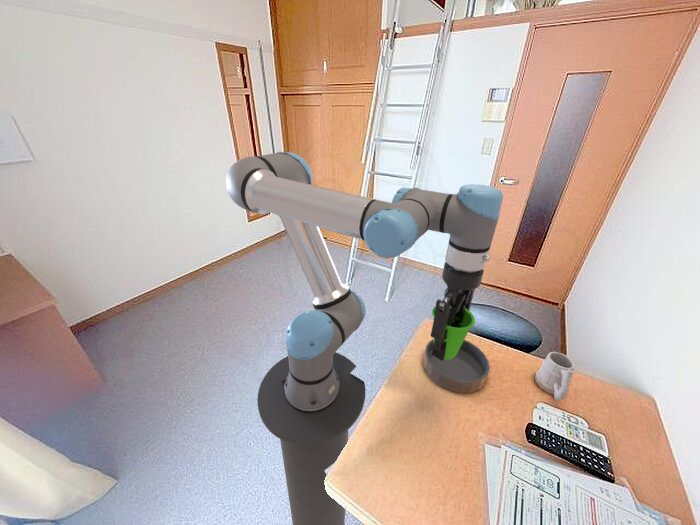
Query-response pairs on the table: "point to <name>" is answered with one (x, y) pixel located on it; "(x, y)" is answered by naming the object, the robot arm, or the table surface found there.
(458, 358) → the pan
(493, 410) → the table surface
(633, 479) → the table surface
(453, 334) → the cup
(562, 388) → the mug
